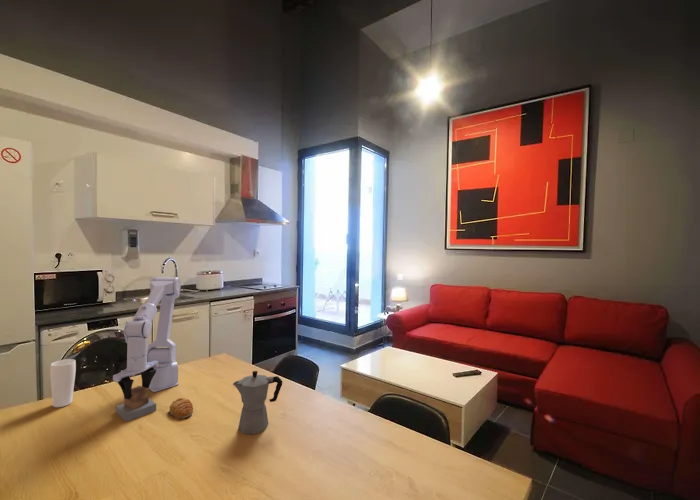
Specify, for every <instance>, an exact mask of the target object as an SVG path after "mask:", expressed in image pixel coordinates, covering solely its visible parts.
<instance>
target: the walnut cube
mask: <svg viewBox="0 0 700 500" xmlns="http://www.w3.org/2000/svg"><path fill="white" fill-rule="evenodd" d="M149 392H150V389H149V388H146V387H142V385H137V386H134V387H133V388H131V398H130V399H125V398H124V397H123V398H124V399H123V400H124V401H123V403H124V406H126V407H129V408H131V409H136V408H138V407H140V406H142V405H145V404H147V403H148V401H149V399H150V397H149V396H150V393H149Z"/></svg>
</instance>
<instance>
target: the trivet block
mask: <svg viewBox="0 0 700 500" xmlns="http://www.w3.org/2000/svg"><path fill="white" fill-rule="evenodd" d="M156 411H157V403H156V402H155V401H153V400H152V399H151V398H149V401H148V403H147V404H145V405H142V406H140V407H138V408H136V409H131V408H129V407H126V406H124V402H122V403H120V404H116V406H115V413H116V414H117V416H119V417H120V418H121V419H122V420H124V422H126V423H127V422H130V421H133V420H134V419H138V418H141V417H144V416H146V415H149V414H150V413H151V414H152V413H154V412H156Z"/></svg>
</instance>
